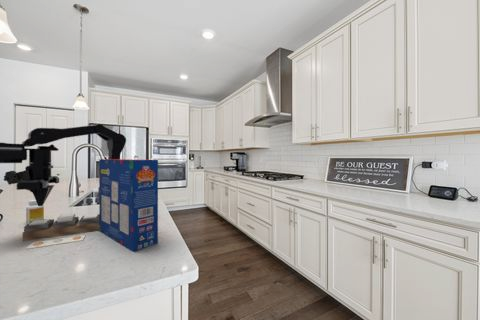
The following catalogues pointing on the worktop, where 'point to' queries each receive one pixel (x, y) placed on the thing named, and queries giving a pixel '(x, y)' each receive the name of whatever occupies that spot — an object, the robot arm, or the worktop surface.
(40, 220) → the key
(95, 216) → the key
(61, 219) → the key middle
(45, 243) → the pattern card
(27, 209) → the supplement bottle
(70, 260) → the worktop surface
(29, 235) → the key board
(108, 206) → the blue cardboard box
